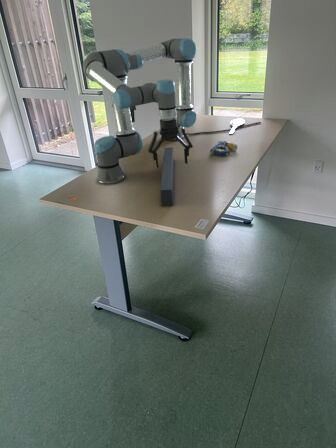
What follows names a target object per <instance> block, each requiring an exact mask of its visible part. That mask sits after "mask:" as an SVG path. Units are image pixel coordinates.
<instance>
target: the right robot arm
mask: <svg viewBox="0 0 336 448" xmlns="http://www.w3.org/2000/svg"><path fill="white" fill-rule="evenodd" d="M197 50H198V49H197V46H196V43H195V41H194V40H193V39H191V38H187V37H183V38H171V39H168V40H165V41H161V42H159V43H157V45H154V46H150V47H149V46H148V47H146V48H142V49H137V50H133V51H129V52H126V53H125V54H126V55H127V57H128V60H129V64H130V68H129V69H130V70H129V71H133V70H134V71H135V70H138V69H142V68H143V66H144V63H147V62H151V61H156V60H166V59H167V60H169V59H171V60H174V64H175V65H176V72H177V104H176V115H177V117H176V119H177V128H178V129H180V128H182V127H183V128H191V127H193V126H194V125H195V124H196V121H197V116H198V115H197V113H196V111H195V110H194V105H193V104H192V95H191V94H192V91H191V89H192V88H191V87H192V86H191V85H192V83H191V81H192V80H191V79H192V78H191V77H192V76H191V65H192V64H193V61H194V58H196V55H197ZM125 84H126V85H127V86H128V79H127V78H126V80H125ZM111 106H112V108H113V103H112V102H111ZM136 110H137V106H133V107H130V113H131V119H132V123H135V122H136V120H135V111H136ZM258 124H261V121H258V122H252V123H249V124H246V125H245V124H244V125H240V126H237V127H236V128H235V130H238V129H242V128H245V127H246V128H247V127H249V126H253V125H258ZM231 129H232V128H228V129H223V130H212V131H201V132H194V133H192V132H191V133H188V132H185V134H186V135H187V136H193V135H199V134H214V133H215V134H216V133H222V132H228V131H229V132H230V131H231ZM177 136H178V137H179V138H180V139H181V140H182V139H184V138H185V137H184V136H183V134H182V133H180V132H178V134H177ZM166 141H167V142H176V141H178V140H177V139H174V140H166Z"/></svg>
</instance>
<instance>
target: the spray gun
mask: <svg viewBox="0 0 336 448" xmlns="http://www.w3.org/2000/svg"><path fill="white" fill-rule="evenodd" d="M237 150H238V144H235V143H233V142H227V140H223V141H217V143H215V145H214V146H213V147H212V148H211V149H210V150H209V153H210V154H211V155H212V156H214V155H216V156H220V157H227V156H229V155H230V153H231V151H232V152H236V151H237Z"/></svg>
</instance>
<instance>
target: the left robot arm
mask: <svg viewBox="0 0 336 448" xmlns="http://www.w3.org/2000/svg"><path fill="white" fill-rule="evenodd" d="M129 68H130V64H129V60H128V57H127V55H126V53H125V51H124V50H122V49H119V48H118V49H117V48H116V49H115V48H114V49H107V50H99V51H93V52H91V53H89V54H88V55H87V56H86V57H84V60H83V63H82V70H83V73H84V75H85V77H86V79H88V80H89V81H90V82H93V83H96V84H98V86H99V87H101V88H102V89H104V90H105V92H107V93H108V94H110V98H111V104H112V103H113V107H112V108H113V112H114V117H115V124H116V128H117V131H116V132H115V136H114V135H106V136H102V137H100V138H97V140H96V141H95V142H94V144H93V146H94V152H95V157H96V161H97V162H96V165H95V166H96V167H97V168H98V169H97V170H98V171H97V178H96V179H97V182H98V184H101V185H114V184H119V183H120V182H122V181H124V179H125V173H124V171H123V169H122V167H121V165H120V160H121V159H124V158H128V157H132V156H135V155H137V154H139V153H141V151H142V149H143V144H144V143H143V138H142V135H141V134H140V133H139V132H138V131H137V129H136V128H134V125H133V122H132V119H131V113H130V107H133V106H135V107H137V106H140V105H141V106H142V105H146V104H147V105H148V104H151V103H157V105H158V118H159V129H160V130H154V131H153V136H152V139H151V141H150V144H149V147H148V150H147V151H148V153H149V154H152V159H153V161H155V166H156V168H159V167H160V166H159V159H158V157H159V156H158V150H159V149H160V148H161V146H162V144H163V143H164V142H165V141H167V140H174V139H177V140H176V141H178V143H180V145H182V147H184V148H183V156H184V164H186V165H188V157H189V156H190V149H192V148H193V147H194V146H193V144H192V143H191V140H190V139H189V137H188V135H186V134H185V133H186V130H185V127H182V126H181V128H180V129H178V128H177V119H176V117H177V115H176V105H177V102H176V88H175V87H176V86H175V82H174V80H173V79H160V80H158V81H156V83H155V82H154V83H153V82H146V83H144V84H143V85H137V86H132V87H130V86H128V84H127V85H126V84H125V80H126V79H127V78H128V75H127V74H129V72H130V71H131V70H130V69H129ZM178 132H180V133H182V134H183V136H184V137H183V138H184V140H185V141H186V143H185V141H183V140H182V139H180V138H179V137H178V136H177V134H178ZM159 135H160V136H161V137H160V138H159V140H158V141H157V138H158V136H159ZM156 141H157V143H156ZM155 143H156V145H155Z"/></svg>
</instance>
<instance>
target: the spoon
mask: <svg viewBox="0 0 336 448" xmlns="http://www.w3.org/2000/svg"><path fill="white" fill-rule="evenodd" d="M243 124H244V125H245V119H243V118H234V119H232V120H231V121H230V125H231V126H232V128H230V129H231V130H229V133H228V134H229V135H234V133H235V131H236V129H235V128H237V127H241V126H243Z"/></svg>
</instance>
